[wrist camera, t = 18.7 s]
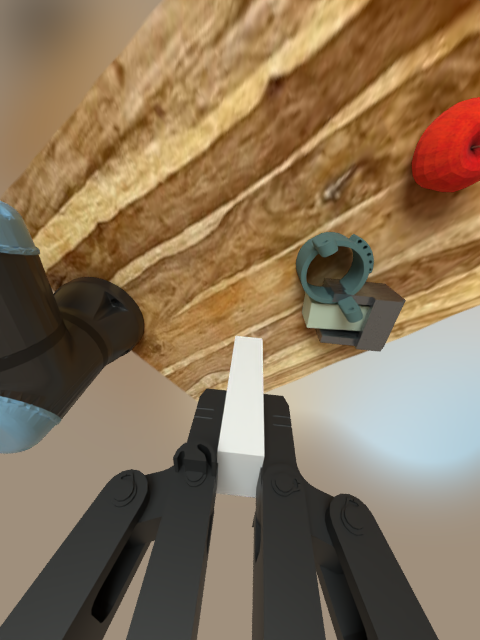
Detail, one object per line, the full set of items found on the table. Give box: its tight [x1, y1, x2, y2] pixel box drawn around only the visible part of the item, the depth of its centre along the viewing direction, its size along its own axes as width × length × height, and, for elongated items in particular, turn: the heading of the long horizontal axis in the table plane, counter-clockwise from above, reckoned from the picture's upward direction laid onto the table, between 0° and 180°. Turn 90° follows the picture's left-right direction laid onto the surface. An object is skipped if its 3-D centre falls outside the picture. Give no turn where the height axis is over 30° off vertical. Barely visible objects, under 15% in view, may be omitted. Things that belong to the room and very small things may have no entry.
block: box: [302, 292, 370, 331], centre depth 36 cm, size 10×4×5 cm, turn 88°
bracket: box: [296, 232, 374, 323], centre depth 30 cm, size 9×9×9 cm
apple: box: [412, 97, 480, 192], centre depth 24 cm, size 8×8×7 cm
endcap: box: [315, 278, 406, 351], centre depth 35 cm, size 9×8×7 cm
